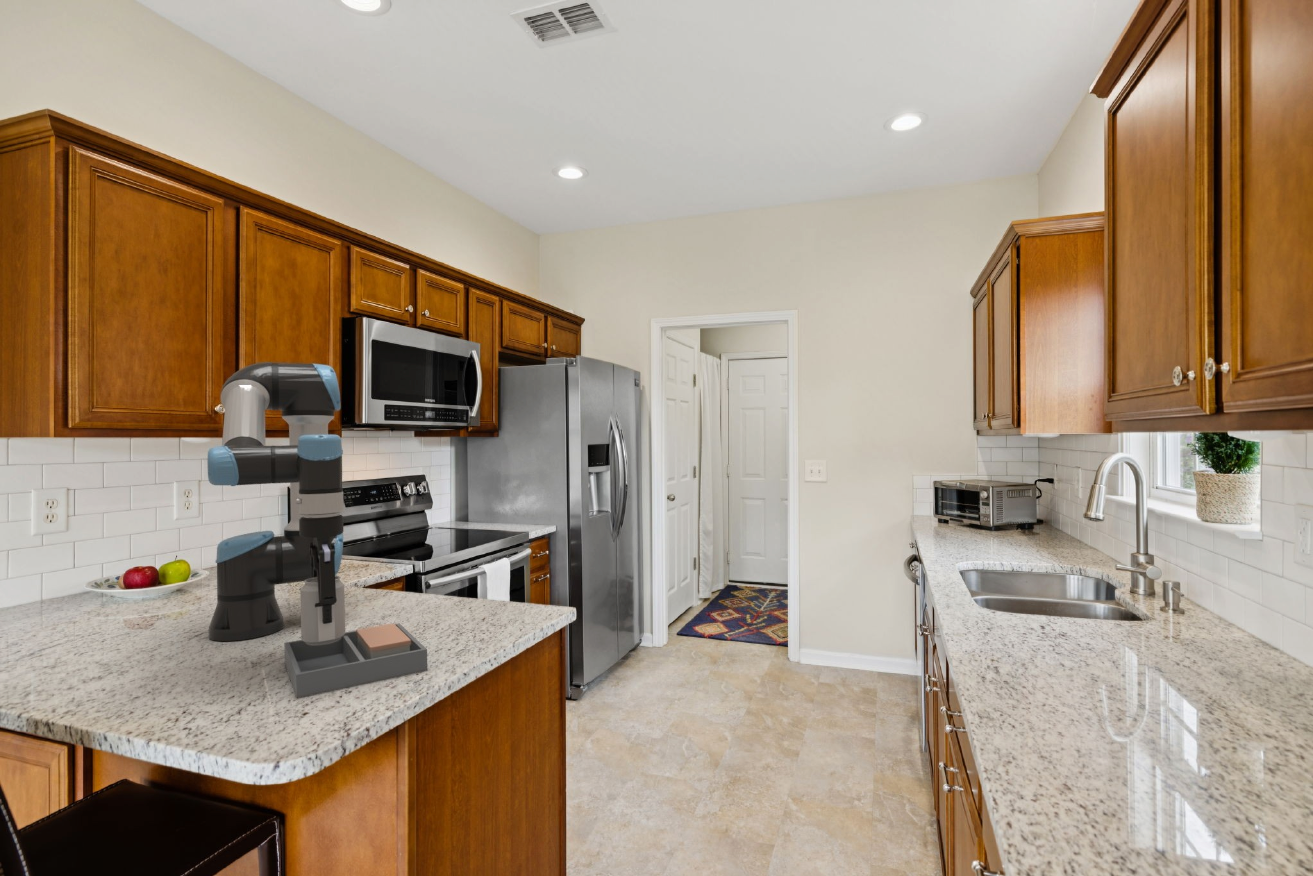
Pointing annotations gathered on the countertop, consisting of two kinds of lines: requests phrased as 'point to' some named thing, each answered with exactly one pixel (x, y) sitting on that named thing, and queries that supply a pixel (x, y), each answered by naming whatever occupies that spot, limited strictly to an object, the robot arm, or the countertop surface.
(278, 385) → the robot arm
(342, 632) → the can
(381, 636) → the two-tone square sponge
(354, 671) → the tray
